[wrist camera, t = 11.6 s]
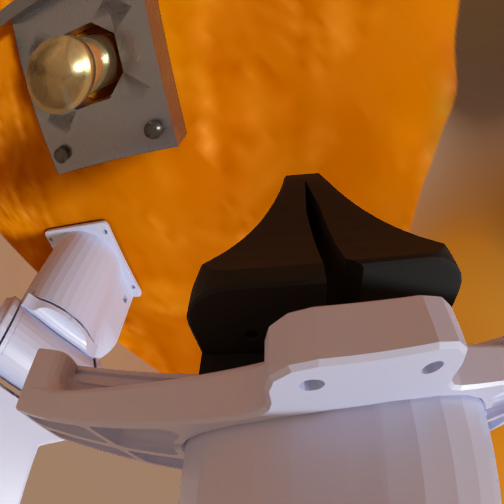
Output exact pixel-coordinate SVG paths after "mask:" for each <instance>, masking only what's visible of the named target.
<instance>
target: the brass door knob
mask: <svg viewBox="0 0 504 504" xmlns="http://www.w3.org/2000/svg"><path fill="white" fill-rule="evenodd" d="M123 72H124V71H123V67H122V63H121V59H120V55H119V51H118V46H117V42H116V38H115V34H113V33H101V34H94V35H88V36H82V37H76V36H73V35H61V36H56V37H52V38H49V39H47V40H46V41H44V42H43V43H41V44H40V45H39V46H38V47H37V49H36V50H35V51H34V53H33V54H32V56H31V58H30V60H29V63H28V66H27V72H26V84H27V89H28V92H29V95H30V97H31V99H32V100H33V102H34V103H35V104H36V105H37V106H38V107H39V108H40V109H41V110H43V111H45V112H47V113H51V114H62V113H66V112H68V111H70V110H72V109H74V108H75V107H77V106H79V105H80V104H81V103H82V102H83V101H84V100H85V99H86V98H87V97H88V95H89V94H91V93H93V92H95V91H97V90H99V89H101V88H103V87H106V86H108V85H110V84H112V83H114V82H116V81H117V80H118V79H120V78H121V76H122V74H123Z"/></svg>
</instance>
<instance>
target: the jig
mask: <svg viewBox="0 0 504 504" xmlns="http://www.w3.org/2000/svg"><path fill="white" fill-rule="evenodd" d="M8 25H13V29H14V34H15V39H16V43H17V48H18V52H19V57H20V61H21V65H22V69H23V72H24V76H25V80H26V72H27V66H28V63H29V60H30V58H31V56H32V54H33V53H34V51H35V50H36V49H37V47H38V46H39V45H40V44H41V43H43V42H44V41H46V40H47V39H49V38H52V37H56V36H61V35H73V36H76V35H77V34H79V33H81V32H83V31H86V30H88V29H90V28H92V27H95V26H97V25H98V26H100V27H102V28H104V29H106V30H108V31H110V32H112V33H114V34H115V38H116V42H117V46H118V51H119V55H120V59H121V63H122V67H123V71H124V72H123V74H122V76H121V78H120V80H119V81H118V83H117V85H116V87H115V89H114V91H113V93H112V94H111V95H108V96H105V97H102V98H99V99H96V100H93V99H91V98H89V97H87V98H86V99H85V100H84V101H83V102H82V103H81V104H80V105H79V106H77V107H75V108H74V109H72V110H70V111H68V112H66V113H62V114H51V113H47V112H45V111H43V110H41V109H40V108H39V107H38V106H37V105H36V104H35V103H34V102H33V100H32V99H31V100H32V104H33V107H34V110H35V113H36V116H37V119H38V122H39V125H40V128H41V130H42V133H43V136H44V139H45V142H46V144H47V147H48V149H49V152H50V155H51V157H52V160H53V162H54V165H55V167H56V170H57V172H58V174H63V173H66V172H70V171H73V170H77V169H80V168H84V167H88V166H91V165H95V164H99V163H103V162H107V161H111V160H115V159H119V158H124V157H128V156H133V155H137V154H142V153H146V152H151V151H156V150H161V149H166V148H172V147H177V146H179V144H180V143H181V141H182V140H183V138H184V137H185V135H186V134H187V133H186V129H185V124H184V120H183V116H182V112H181V107H180V103H179V99H178V94H177V90H176V85H175V81H174V76H173V72H172V67H171V63H170V58H169V54H168V49H167V44H166V39H165V35H164V30H163V25H162V20H161V15H160V10H159V5H158V0H14V1H13V2H11V3H10V4H9V5H7V6H6V7H5V8H3V9H2V10H1V11H0V27H3V26H8Z"/></svg>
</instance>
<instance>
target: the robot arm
mask: <svg viewBox="0 0 504 504" xmlns="http://www.w3.org/2000/svg"><path fill="white" fill-rule="evenodd" d="M105 230H106V231H105ZM45 236H46V238H47V239H48V241H49V243H50V245H51V247H52V248H53V251H52V252H51V254H50V255H49V257H48V258H47V260H46V261H45V263H44V264H43V266H42V267H41V269H40V271H39V272H38V274H37V275H36V277H35V278H34V280H33V282H32V283H31V285H30V287H29V288H28V290H27V292H26V294H25V295H24V297H23V299H22V300H21V301H20V300H19V299H18V298H17V297H16V296H14V297H13V298H7V299H6V300H5V301H4V302H3V304H2V305H1V307H0V377H1V378H3V380H5V381H7V382H8V383H9V384H11V385H12V386H14V387H15V388H17V389H18V390H20V391H21V394H20V396H18V395H17V394H15V393H14V392H12V391H11V390H9V389H8V388H6V387H5V386H3V385H2V384H0V504H20V502H21V498H22V495H23V491H24V488H25V485H26V482H27V478H28V475H29V472H30V469H31V466H32V463H33V460H34V457H35V454H36V452H37V449H38V447H39V446H41V445H44V444H50V443H54V442H59V441H63V440H67V441H70V442H74V443H77V444H81V445H83V446H87V447H90V448H93V449H97V450H100V451H103V452H107V453H111V454H114V455H118V456H121V457H126V458H129V459H133V460H137V461H141V462H146V463H150V464H154V465H159V466H164V467H169V468H175V469H180V470H182V478H181V486H180V495H179V504H502V503H501V493H500V485H499V478H498V472H497V466H496V460H495V455H494V449H493V445H492V440H491V435H490V431H491V430H493V429H495V428H497V427H499V426H501V425H503V424H504V336H503V337H500V338H496V339H492V340H489V341H485V342H481V343H477V344H466V342H465V339H464V337H463V334H462V332H461V329H460V327H459V324H458V322H457V320H456V317H455V315H454V313H453V310H452V308H451V307H452V305H453V303H454V301H455V299H456V296H457V294H458V292H459V289H460V285H461V272H460V270H459V268H458V266H457V264H456V262H455V260H454V258H453V256H452V255H451V253H450V251H449V250H448V248H447V247H446V246H445V244H443V243H440V242H436V241H433V240H429V239H426V238H422V237H419V236H416V235H414V234H411V233H408V232H406V231H403V230H401V229H398V228H396V227H394V226H392V225H390V224H388V223H386V222H384V221H382V220H380V219H378V218H376V217H374V216H373V215H371V214H369V213H368V212H366V211H364V210H363V209H361V208H360V207H358V206H357V205H355V204H354V203H353V202H351V201H350V200H349V199H347V198H346V197H345V196H344V195H342V194H341V193H340V192H339V191H338V190H336V189H335V188H334V187H333V186H332V185H331V184H330V183H329V182H328V181H327V180H326V179H325V178H323V177H322V176H321V175H320V174H319V173H315V174H302V175H290V176H286V177H285V178H284V182H283V185H282V187H281V190H280V192H279V194H278V196H277V198H276V200H275V202H274V203H273V205H272V206H271V208H270V209H269V211H268V212H267V214H266V215H265V217H264V218H263V219H262V220H261V222H260V223H259V224H258V225H257V226H256V227H255V228H254V229H253V230H252V231H251V232H250V233H249V234H248V235H247V236H246V237H245V238H244V239H242V240H241V241H240V242H238V243H237V244H236V245H234V246H233V247H232V248H230V249H229V250H227V251H226V252H224V253H222V254H221V255H219V256H217V257H215V258H214V259H212V260H210V261H208V262H206V263H204V264H203V265H202V266H201V268H200V271H199V273H198V276H197V278H196V281H195V283H194V286H193V289H192V292H191V297H190V302H189V306H188V312H187V320H188V324H189V327H190V329H191V331H192V333H193V335H194V337H195V339H196V341H197V343H198V345H199V347H200V349H201V351H202V357H201V364H200V370H199V374H171V373H150V372H136V371H124V370H113V369H104V368H102V366H101V362H100V361H99V359H98V358H101V357H103V356H104V355H106V354H107V353H108V352H109V351H110V350H111V349H112V348H113V347H114V345H115V344H116V342H117V340H118V338H119V335H120V332H121V329H122V326H123V324H124V321H125V318H126V315H127V312H128V310H129V307H130V304H131V301H132V299H133V297H139V296H141V293H142V291H141V289H140V287H139V285H138V284H137V282H136V280H135V278H134V276H133V274H132V272H131V270H130V268H129V266H128V264H127V262H126V260H125V258H124V256H123V254H122V252H121V250H120V248H119V245H118V243H117V241H116V239H115V237H114V235H113V233H112V231H111V228H110V226H109V224H108V223H107V222H106V221H103V220H102V221H96V222H89V223H83V224H78V225H72V226H66V227H60V228H55V229H49V230H47V231H46V232H45Z"/></svg>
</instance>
